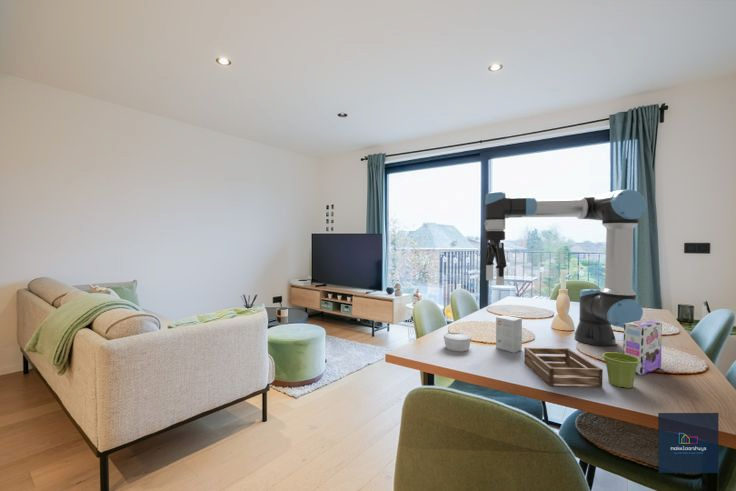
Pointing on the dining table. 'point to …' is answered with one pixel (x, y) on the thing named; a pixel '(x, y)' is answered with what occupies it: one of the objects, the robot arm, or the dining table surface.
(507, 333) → the small box
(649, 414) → the dining table surface
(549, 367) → the crate
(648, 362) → the candy box
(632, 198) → the robot arm
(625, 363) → the plant pot
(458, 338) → the ramekin
